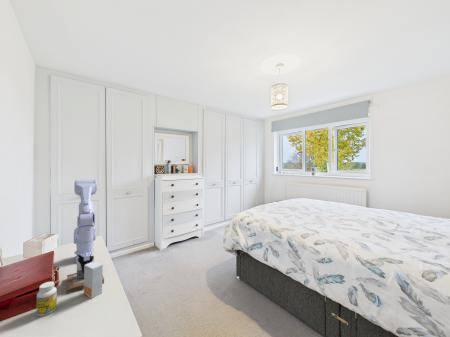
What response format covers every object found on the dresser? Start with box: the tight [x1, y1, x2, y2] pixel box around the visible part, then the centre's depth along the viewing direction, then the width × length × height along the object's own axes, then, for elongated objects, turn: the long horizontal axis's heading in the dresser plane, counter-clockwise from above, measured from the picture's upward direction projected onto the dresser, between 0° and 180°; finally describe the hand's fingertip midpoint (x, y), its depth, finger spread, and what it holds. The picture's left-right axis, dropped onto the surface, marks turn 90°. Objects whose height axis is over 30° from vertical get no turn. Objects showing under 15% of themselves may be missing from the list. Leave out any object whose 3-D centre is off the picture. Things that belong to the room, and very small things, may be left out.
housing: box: [76, 258, 95, 279], centre depth 90 cm, size 6×4×7 cm, turn 128°
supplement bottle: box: [36, 281, 58, 317], centre depth 71 cm, size 5×5×10 cm
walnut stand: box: [66, 272, 105, 295], centre depth 90 cm, size 13×13×2 cm
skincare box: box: [83, 260, 104, 299], centre depth 82 cm, size 6×4×12 cm
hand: (85, 270), depth 90 cm, fingers closed on housing, 4 cm apart
